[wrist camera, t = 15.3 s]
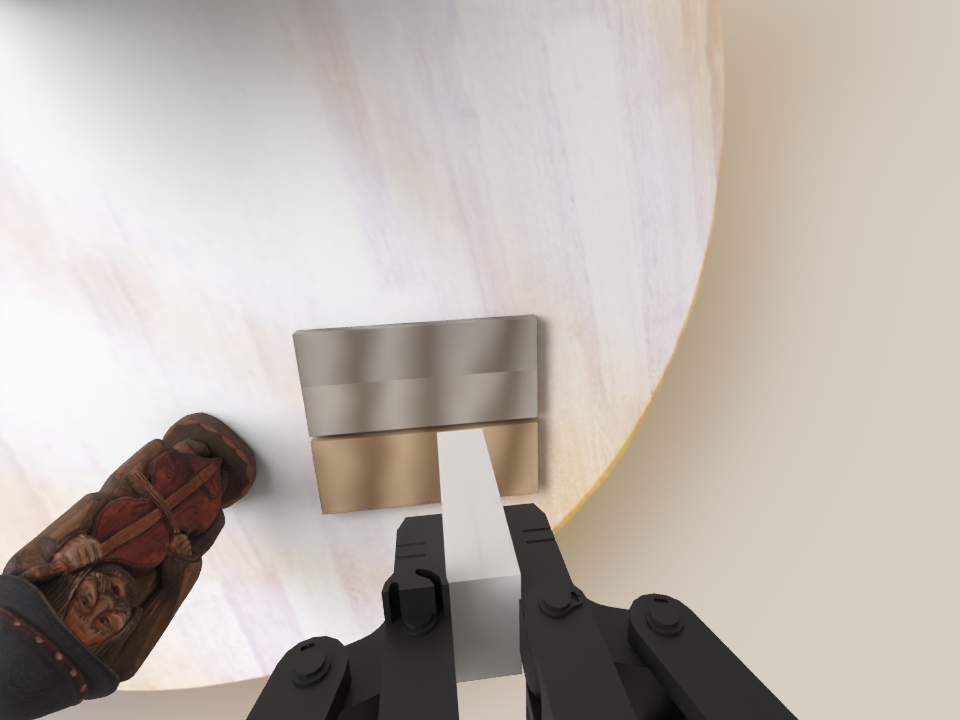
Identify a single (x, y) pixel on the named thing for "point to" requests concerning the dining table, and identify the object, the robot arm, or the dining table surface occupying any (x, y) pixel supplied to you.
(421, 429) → the plank
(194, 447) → the figurine
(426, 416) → the laid strip
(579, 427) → the dining table surface
